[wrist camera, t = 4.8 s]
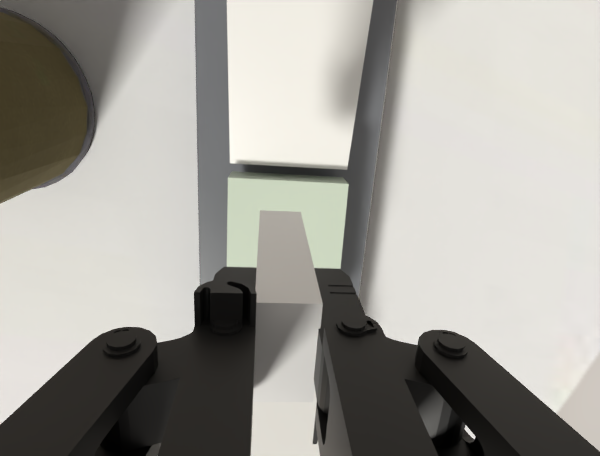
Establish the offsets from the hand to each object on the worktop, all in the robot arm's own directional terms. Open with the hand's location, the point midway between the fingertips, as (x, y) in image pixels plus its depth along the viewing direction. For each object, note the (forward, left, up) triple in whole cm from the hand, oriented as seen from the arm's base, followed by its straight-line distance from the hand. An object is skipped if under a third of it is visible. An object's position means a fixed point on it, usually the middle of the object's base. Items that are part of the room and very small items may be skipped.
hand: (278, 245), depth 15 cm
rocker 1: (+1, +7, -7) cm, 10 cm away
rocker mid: (+1, -3, -7) cm, 8 cm away
